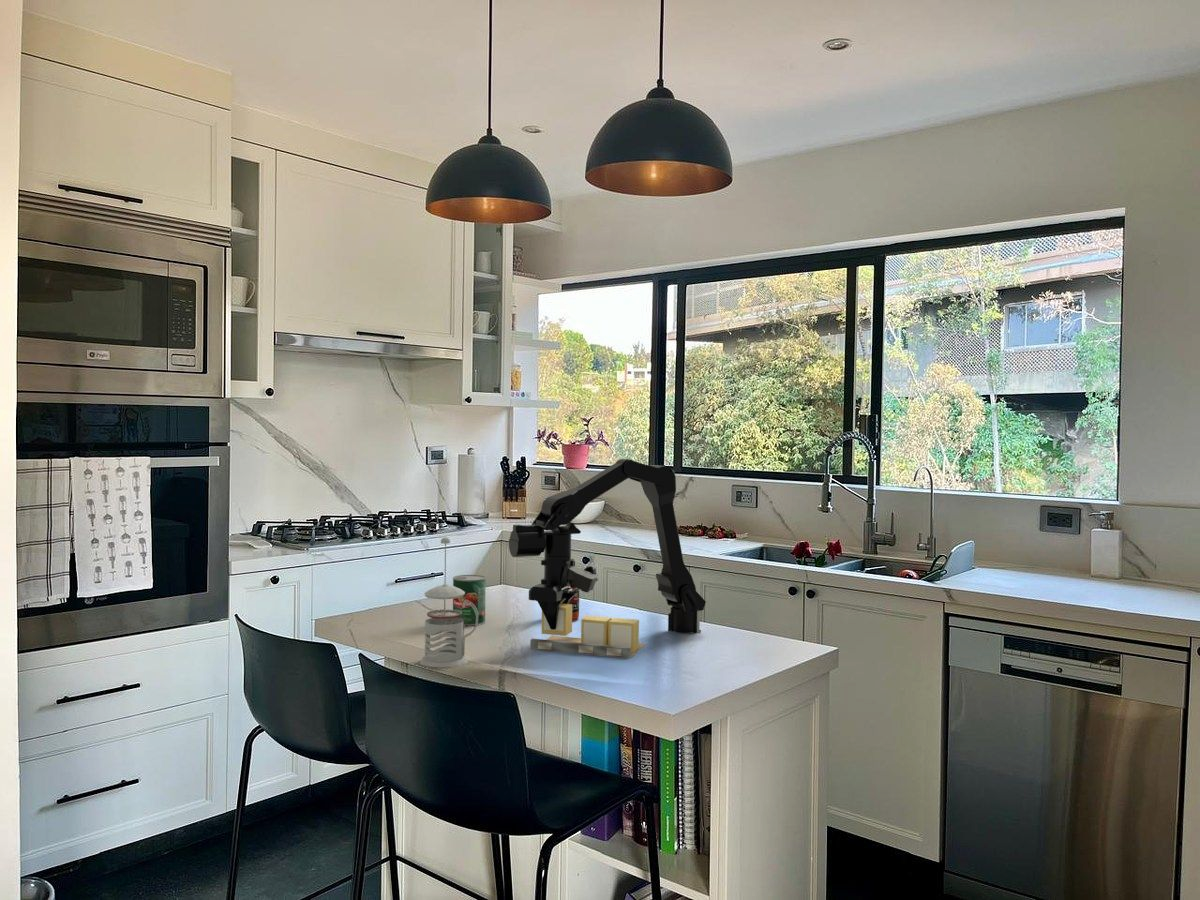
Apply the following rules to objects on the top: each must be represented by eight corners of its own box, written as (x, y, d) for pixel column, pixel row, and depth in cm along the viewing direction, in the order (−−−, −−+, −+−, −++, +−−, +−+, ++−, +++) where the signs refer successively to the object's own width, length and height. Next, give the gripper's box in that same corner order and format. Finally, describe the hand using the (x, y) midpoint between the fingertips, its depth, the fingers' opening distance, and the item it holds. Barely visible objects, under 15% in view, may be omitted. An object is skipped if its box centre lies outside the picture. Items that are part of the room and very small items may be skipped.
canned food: (566, 623, 214) (566, 578, 214) (541, 619, 219) (541, 574, 219) (585, 618, 221) (586, 574, 220) (560, 614, 225) (561, 571, 225)
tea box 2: (638, 647, 187) (639, 619, 187) (633, 652, 183) (633, 623, 183) (613, 645, 189) (614, 617, 189) (608, 650, 185) (608, 621, 185)
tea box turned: (541, 633, 189) (541, 606, 189) (548, 629, 193) (548, 602, 193) (565, 635, 188) (565, 607, 188) (572, 631, 192) (572, 604, 192)
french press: (424, 654, 183) (426, 534, 183) (480, 655, 183) (482, 534, 183) (414, 667, 174) (415, 540, 173) (473, 668, 173) (475, 540, 173)
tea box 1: (611, 645, 189) (611, 617, 189) (605, 649, 185) (606, 621, 185) (587, 643, 191) (587, 615, 191) (580, 647, 187) (581, 619, 187)
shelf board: (645, 648, 191) (645, 634, 191) (629, 663, 178) (629, 648, 178) (552, 640, 197) (552, 626, 197) (529, 654, 185) (530, 639, 185)
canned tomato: (485, 618, 219) (486, 574, 219) (485, 625, 211) (485, 579, 211) (453, 619, 218) (453, 574, 218) (451, 626, 210) (452, 580, 210)
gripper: (579, 563, 179) (578, 639, 179) (606, 551, 197) (605, 621, 197) (527, 560, 182) (527, 635, 183) (559, 548, 200) (558, 617, 200)
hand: (556, 627), depth 191 cm, fingers closed on tea box turned, 4 cm apart
